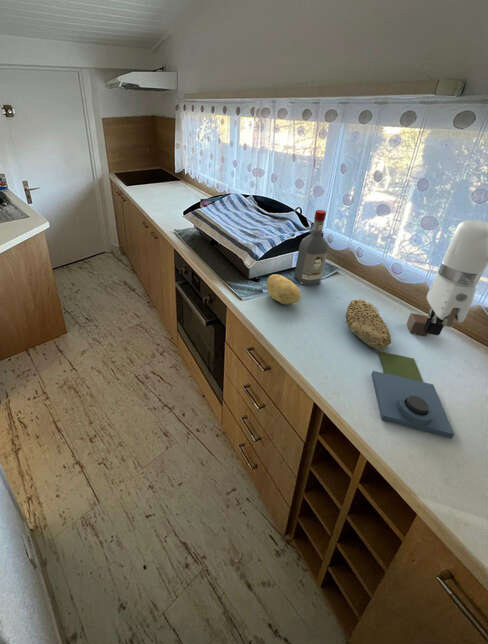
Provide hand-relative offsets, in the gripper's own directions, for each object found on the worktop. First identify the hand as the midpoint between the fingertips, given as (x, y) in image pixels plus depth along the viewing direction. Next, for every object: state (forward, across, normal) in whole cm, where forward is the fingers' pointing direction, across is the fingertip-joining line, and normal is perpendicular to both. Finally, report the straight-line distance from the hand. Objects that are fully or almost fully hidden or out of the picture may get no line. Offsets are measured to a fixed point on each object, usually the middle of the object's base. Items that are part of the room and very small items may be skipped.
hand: (430, 332), depth 80 cm
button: (+10, -17, +5) cm, 20 cm away
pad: (+13, -1, +4) cm, 14 cm away
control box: (+13, -14, +5) cm, 20 cm away
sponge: (+13, +13, +10) cm, 21 cm away
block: (+13, +18, -6) cm, 23 cm away
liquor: (+13, +40, +28) cm, 51 cm away
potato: (+13, +22, +37) cm, 45 cm away
